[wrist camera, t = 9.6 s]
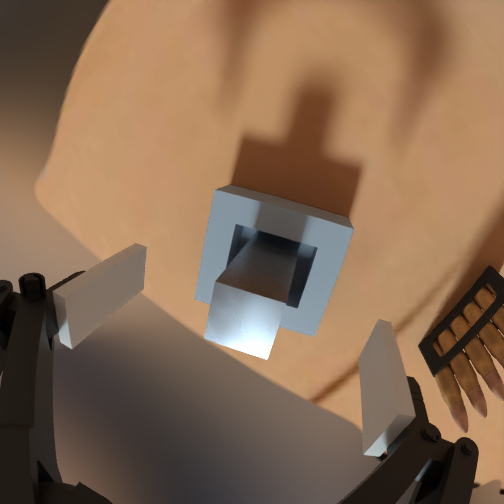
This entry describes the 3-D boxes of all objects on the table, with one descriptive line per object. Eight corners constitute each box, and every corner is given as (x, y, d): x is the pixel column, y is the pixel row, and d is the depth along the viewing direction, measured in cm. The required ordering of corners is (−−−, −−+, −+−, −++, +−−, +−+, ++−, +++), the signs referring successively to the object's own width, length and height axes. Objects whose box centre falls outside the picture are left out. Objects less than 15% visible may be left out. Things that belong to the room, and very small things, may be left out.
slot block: (230, 184, 25) (215, 189, 21) (348, 217, 24) (353, 228, 20) (210, 280, 28) (194, 299, 24) (315, 312, 27) (314, 336, 23)
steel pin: (259, 228, 25) (214, 281, 14) (301, 240, 24) (286, 303, 14) (249, 267, 26) (203, 338, 16) (289, 279, 25) (267, 359, 15)
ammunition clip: (489, 264, 22) (561, 327, 10) (498, 275, 22) (566, 339, 10) (417, 345, 26) (450, 437, 14) (427, 354, 26) (461, 443, 14)
